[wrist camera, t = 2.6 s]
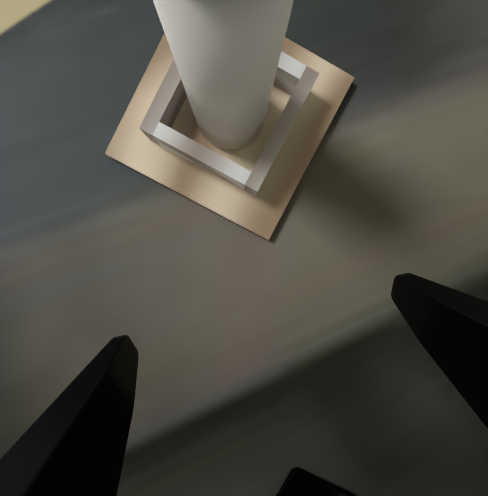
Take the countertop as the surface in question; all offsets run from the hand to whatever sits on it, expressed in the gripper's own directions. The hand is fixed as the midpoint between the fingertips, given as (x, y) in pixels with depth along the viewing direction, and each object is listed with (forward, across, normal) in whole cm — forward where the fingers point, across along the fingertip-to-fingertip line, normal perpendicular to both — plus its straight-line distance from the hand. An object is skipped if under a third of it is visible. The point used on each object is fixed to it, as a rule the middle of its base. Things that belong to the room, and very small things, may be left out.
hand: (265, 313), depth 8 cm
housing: (+16, -1, -5) cm, 16 cm away
